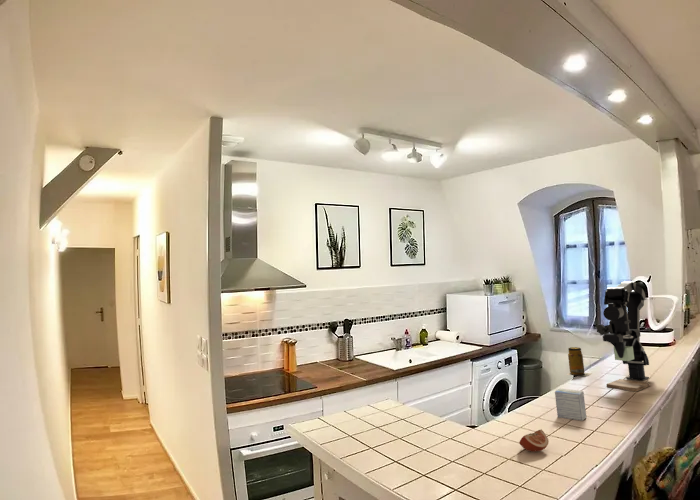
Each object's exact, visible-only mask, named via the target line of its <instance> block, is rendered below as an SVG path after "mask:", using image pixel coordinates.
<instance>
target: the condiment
mask: <svg viewBox="0 0 700 500" xmlns="http://www.w3.org/2000/svg"><path fill="white" fill-rule="evenodd" d="M567 351H568V354H567V356H568V366H569V373H567V376H568V375H569V376H579V377H588V376H591V375H592V374H593V373H591V372H585V365H584V355H583V354H582V348H581V347H578V346H574V347H573V346H571V347H568V350H567Z"/></svg>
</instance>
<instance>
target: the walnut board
mask: <svg viewBox="0 0 700 500" xmlns="http://www.w3.org/2000/svg"><path fill="white" fill-rule="evenodd" d="M606 387H607V388H610V389H611V388H612V389H616V390H624V391H630V392H631V391H632V392H638V391H641V390H643V389H646V388H648V387H650V383H649V382H646V381H645V382H644V381H639V380H632V379H622V378H619V379H616V380H614V381H611V382H608V383H606Z"/></svg>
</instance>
